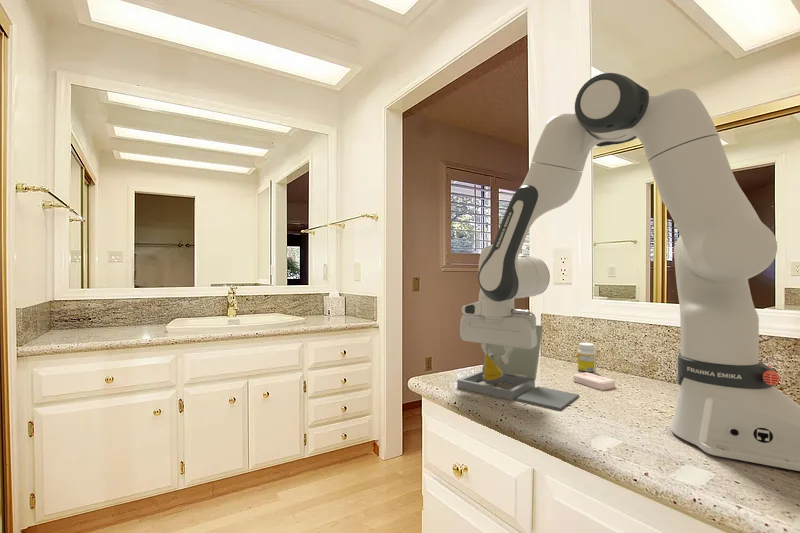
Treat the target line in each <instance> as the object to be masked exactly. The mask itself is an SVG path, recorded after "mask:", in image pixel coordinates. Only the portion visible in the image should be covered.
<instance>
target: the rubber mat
mask: <svg viewBox="0 0 800 533" xmlns="http://www.w3.org/2000/svg"><path fill="white" fill-rule="evenodd" d="M579 397H580V394H578V393H573V392H568V391H563V390H558V389H552V388H547V387H543V386H535V388H533V389H531V390H529V391H527V392H526V393H524V394H522V395H520V396H519V397H517V398H516V401H517V402H520V403H525V404H529V405H533V406H539V407H542V408H546V409H550V410H551V409H552V410H556V411H562V410H564V409H565V408H566V407H567V406H569V405H570V404H571V403H573V402H574V401H576V399H578V398H579Z"/></svg>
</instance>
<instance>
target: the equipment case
mask: <svg viewBox="0 0 800 533" xmlns="http://www.w3.org/2000/svg"><path fill="white" fill-rule="evenodd" d="M535 329H536V335H537V345H536V346H535V347H534V348H532V349H523V348H515V347H513V350H512V352H511V354H510V355H509V362H508V363H507V364H503V363H500V356H503V355H504V354H505V352H506V350H504V346H500V345H493V344H490V346H489V350H490V352H491V353H492V354H494V360H493V362H494V363H495V364H496V365H497V367H498V368H499V369H501V370H502V371H503V373H504V379H503V380H502V381H501V382H500V383H506V384H510V383H511V385H516V386H514V387H512V388H511V389H507V388H504V387H499V386H497V387H496V386H495V385H491V384H486V383H485V384H483V383H479V381H481V380H483V374H484V370H485V359H486V357H485V355H484V358H483V364H482V367H481V369H482V370H479V371H477V372H474V373H471V374H469V375H466V376H463V377H461V378H459V379H456V380H457V381H456V382H457V383H456V384H457V386H456V387H457V389H462V390H465V391H470V392H475V393H478V392H479V394H482V395H483V394H484V395H487V396H491V395H492V396H493V397H495V396H496V397H497V398H500V397H501V399H504V398H505V399H504V400H508V401H509V400H510V401H514V400H515V399H517V398H518V397H520V396H521V395H523V394H525V393H527V392H529V391H530V390H532V389H534V388H536V380H537V379H536V378H537V372H538V365H539V358H540V350H541V345H542V344H541V343H542V335H543V329H544V326H542V325H539V324H538V325H537V324H536V326H535Z"/></svg>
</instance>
